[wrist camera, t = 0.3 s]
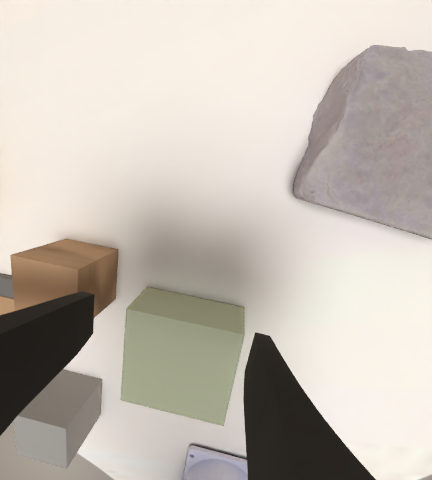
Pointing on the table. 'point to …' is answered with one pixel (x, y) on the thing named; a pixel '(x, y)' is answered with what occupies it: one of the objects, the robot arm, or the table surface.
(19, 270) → the walnut block
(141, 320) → the sage block
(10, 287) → the card
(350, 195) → the stone block
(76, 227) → the table surface
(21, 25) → the table surface
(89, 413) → the light gray cube
